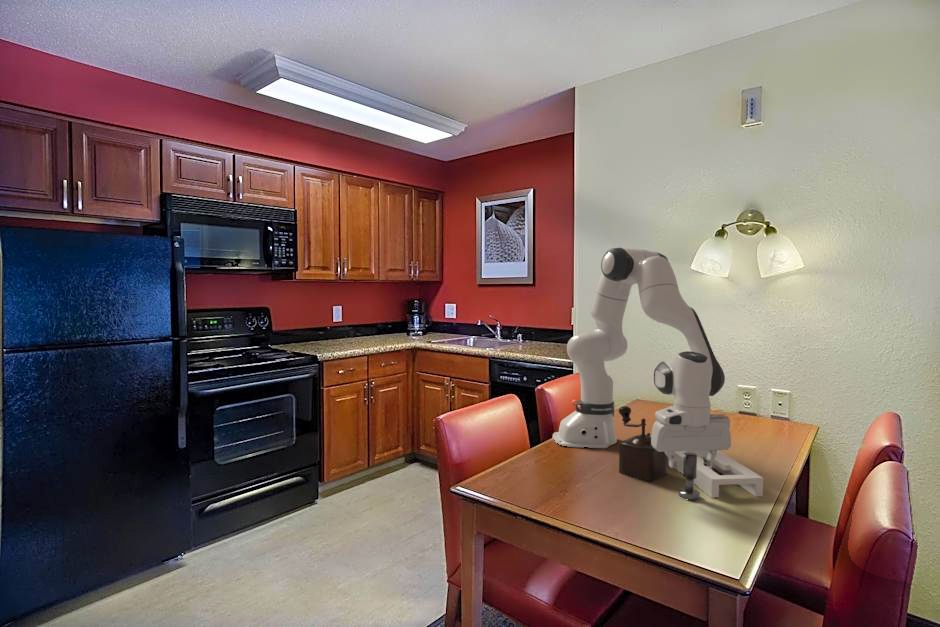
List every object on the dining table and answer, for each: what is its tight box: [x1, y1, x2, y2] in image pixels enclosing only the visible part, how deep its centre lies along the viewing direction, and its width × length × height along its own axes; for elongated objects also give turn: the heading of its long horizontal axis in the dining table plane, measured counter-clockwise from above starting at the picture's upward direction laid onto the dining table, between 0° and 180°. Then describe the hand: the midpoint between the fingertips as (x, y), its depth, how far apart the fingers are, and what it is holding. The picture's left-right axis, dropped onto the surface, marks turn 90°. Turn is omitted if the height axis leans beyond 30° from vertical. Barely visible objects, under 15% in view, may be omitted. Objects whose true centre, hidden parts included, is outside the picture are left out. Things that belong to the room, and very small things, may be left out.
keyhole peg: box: [678, 452, 701, 501], centre depth 134 cm, size 5×5×12 cm
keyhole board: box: [672, 450, 764, 499], centre depth 145 cm, size 14×22×5 cm, turn 3°
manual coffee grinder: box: [618, 405, 668, 483], centre depth 152 cm, size 16×11×18 cm
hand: (690, 466), depth 133 cm, fingers open, 8 cm apart
